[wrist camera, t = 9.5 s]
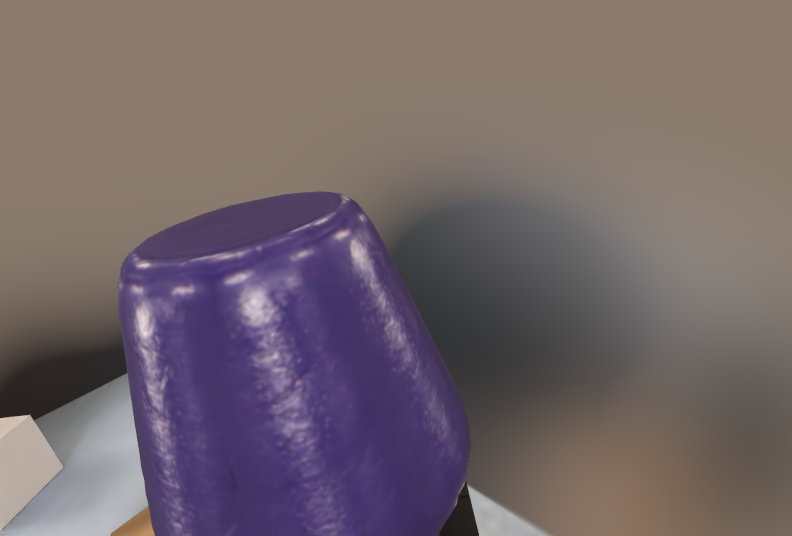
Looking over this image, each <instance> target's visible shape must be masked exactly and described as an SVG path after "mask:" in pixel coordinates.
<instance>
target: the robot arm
mask: <svg viewBox="0 0 792 536" xmlns="http://www.w3.org/2000/svg"><path fill="white" fill-rule="evenodd" d="M438 536H479V533H478V529H477V525H476V521H475V516H474V512H473V508H472V504H471V500H470V496H469V491H468V487H467V483H466V480H465V484H464V487H463V488H462V490H461V491H460V493H459V495H458V500H457V505H456V506H455V508H454V510H453V512H452V513H451V515H450V516H449V518H448V519H447V520H446V522H445V524H444V525H443V527H442V529H441V530H440V532H439V535H438Z"/></svg>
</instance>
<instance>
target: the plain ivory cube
mask: <svg viewBox="0 0 792 536" xmlns="http://www.w3.org/2000/svg"><path fill="white" fill-rule="evenodd" d="M63 468H64V467H63V465H62V464H61V462H60V461H59V459H58V458H57V456H56V455H55V453H54V451H53V450H52V448H51V447H50V445H49V444H48V442H47V441H46V439H45V438H44V436H43V435H42V433H41V431H40V430H39V428H38V427H37V425H36V424H35V422H34V421H33V419H32V418H31V416H30V415H27V416H17V417H8V418H0V530H2V529H3V528H4V527H5V526H6V525H7V524H8V523H9V522H10V521H11V520H12V519H13V518H14V517H15V516H16V515H17V514H18V513H19V512H20V511H21V510H22V509H23V508H24V507H25V506H26V505H27V504H28V503H29V502H30V501H31V500H32V499H33V498H34V497H35V496H36V495H37V494H38V493H39V492H40V491H41V490H42V489H43V488H44V487H45V486H46V485H47V484H48V483H49V482H50V481H51V480H52V479H53V478H54V477H55V476H56V475H57V474H58V473H59V472H60V471H61V470H62V469H63Z"/></svg>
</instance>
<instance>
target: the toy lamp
mask: <svg viewBox="0 0 792 536" xmlns="http://www.w3.org/2000/svg"><path fill="white" fill-rule="evenodd" d="M118 304H119V305H118V306H119V318H120V324H121V330H122V337H123V343H124V350H125V357H126V364H127V371H128V378H129V386H130V393H131V400H132V407H133V414H134V421H135V428H136V434H137V440H138V447H139V453H140V460H141V468H142V472H143V476H144V481H145V490H146V496H147V500H148V505H149V511H150V517H151V523H152V528H153V531H154V534H155V536H438V535H439V532H440V530H441V529H442V527H443V525H444V524H445V522H446V520H447V519H448V518H449V516H450V515H451V513H452V512H453V510H454V508H455V506H456V505H457V500H458V495H459V493H460V491H461V490H462V488H463V487H464V484H465V480H466V474H467V468H468V462H469V457H470V447H471V444H470V432H469V426H468V419H467V416H466V412H465V409H464V406H463V404H462V401H461V398H460V395H459V393H458V390H457V388H456V386H455V384H454V382H453V380H452V378H451V375H450V373H449V371H448V369H447V367H446V366H445V364H444V361H443V359H442V357H441V355H440V354H439V352H438V350H437V348H436V345H435V343H434V341H433V339H432V337H431V335H430V334H429V331H428V329H427V327H426V325H425V323H424V322H423V319H422V317H421V315H420V313H419V311H418V309H417V307H416V305H415V303H414V301H413V300H412V297H411V295H410V293H409V292H408V290H407V288H406V286H405V284H404V282H403V280H402V278H401V276H400V274H399V272H398V270H397V268H396V266H395V264H394V262H393V260H392V258H391V256H390V254H389V252H388V250H387V248H386V246H385V245H384V243H383V241H382V239H381V237H380V235H379V233H378V232H377V230H376V228H375V226H374V225H373V224H372V223H371V221H370V219H369V218H368V217H367V215H366V213H365V212H364V210H363V209H362V208H361V207H360V206H359V205H358V204H357V203H356V202H355V201H354V200H352V199H350V198H349V197H346V196H344V195H342V194H339V193H333V192H303V193H294V194H286V195H280V196H275V197H270V198H264V199H259V200H254V201H250V202H245V203H240V204H236V205H231V206H228V207H225V208H221V209H218V210H215V211H212V212H209V213H205V214H202V215H200V216H197V217H195V218H192V219H189V220H187V221H184V222H182V223H179V224H177V225H174V226H172V227H169V228H167V229H165V230H163V231H161V232H159V233H157V234H155V235H153V236H151V237H149V238H147V239H145V240H144V241H143V242H142V243H140V244H139V245H138V246H136V247H135V248H134V249H133V250H132V251H131V252H130V253H129V255H128V256H127V257H126V259H125V260H124V262H123V265H122V267H121V271H120V277H119V284H118Z"/></svg>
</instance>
